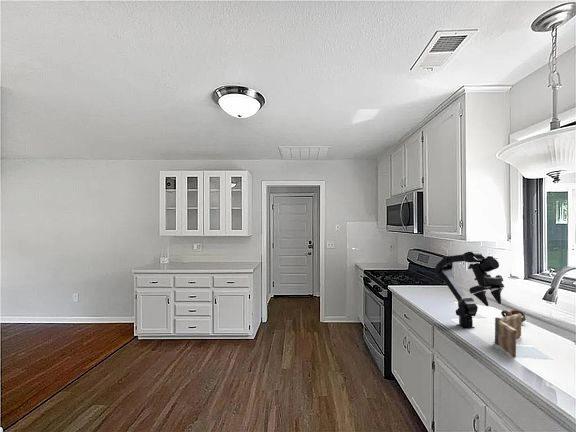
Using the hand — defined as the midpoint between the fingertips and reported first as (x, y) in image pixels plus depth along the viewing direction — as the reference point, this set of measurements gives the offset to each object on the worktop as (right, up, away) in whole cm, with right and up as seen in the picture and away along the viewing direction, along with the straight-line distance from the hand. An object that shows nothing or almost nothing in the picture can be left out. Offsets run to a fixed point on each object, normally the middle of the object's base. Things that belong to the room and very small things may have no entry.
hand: (493, 304), depth 172 cm
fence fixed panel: (-6, -15, -18) cm, 24 cm away
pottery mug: (+26, -17, +26) cm, 40 cm away
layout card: (+1, -16, -18) cm, 24 cm away
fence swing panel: (+5, -15, -5) cm, 17 cm away
